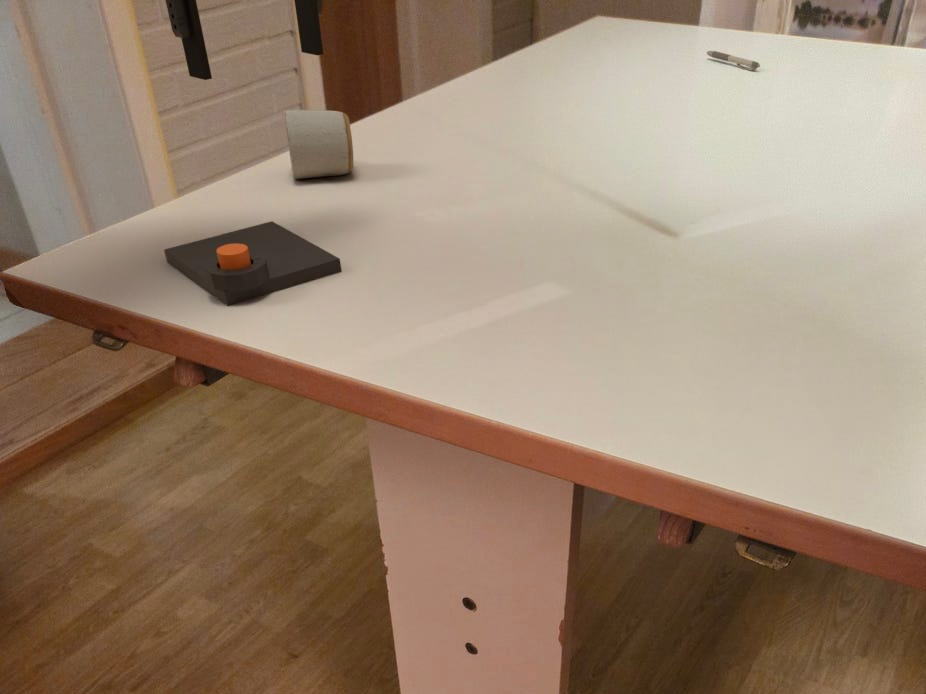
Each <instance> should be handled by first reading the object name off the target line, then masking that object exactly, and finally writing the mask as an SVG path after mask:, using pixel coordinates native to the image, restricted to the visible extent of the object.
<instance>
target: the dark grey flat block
mask: <svg viewBox="0 0 926 694" xmlns="http://www.w3.org/2000/svg"><path fill="white" fill-rule="evenodd" d="M235 243H237V244H244V245H246V246H247V247H248V251H249V256H250V261H251V266H249V267H247V268H243V269H240V270H229V271H228V270H222V269H220V264H219V260H218V256H217V249H218V248H219V247H221V246H224V245H227V244H235ZM163 252H164V255H165V256H164V257H165V259H166V262H167V264H169V265H170V266H171V267H173V268H174V269H176V270H177V271H178V272H180V273H181V274H182V275H184V276H185V277H187V278H188V279H189V280H191V281H192V282H193V283H195V284H196V285H198V286H199V287H200V288H202V289H203V290H204V291H206V292H208V293H209V294H210V295H212V296H213V297H214V298H216V299H217V300H218V301H220V302H221V303H222V304H224V305H225V306H227V307H230V306H233V305H236V304H241V303H242V302H247V301H249V300H252V299H256V298H259V297H263V296H266V295H269V294H272V293H277V292H280V291H283V290H286V289H290V288H292V287H296V286H299V285H302V284H306V283H309V282H313V281H315V280H319V279H322V278H325V277H329V276H332V275H335V274H339V273H342V265H341V259H340V258H339V257H338V256H336V255H334V254H332V253H331V252H329V251H327V250H325V249H323V248H322V247H319V246H318V245H316V244H315V243H313V242H310V241H309V240H307V239H305V238H303V237H302V236H300V235H298V234H297V233H294V232H292V231H291V230H290V229H287V228H285V227H283V226H282V225H280V224H278V223H276V222H275V221H273V220H272V221H268V222H264V223H260V224H255V225H252V226H248V227H244V228H241V229H237V230H234V231H230V232H226V233H221V234H218V235H215V236H211V237H206V238H203V239H199V240H195V241H192V242H187V243H184V244H179V245H176V246H172V247H168V248H164V249H163Z"/></svg>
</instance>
